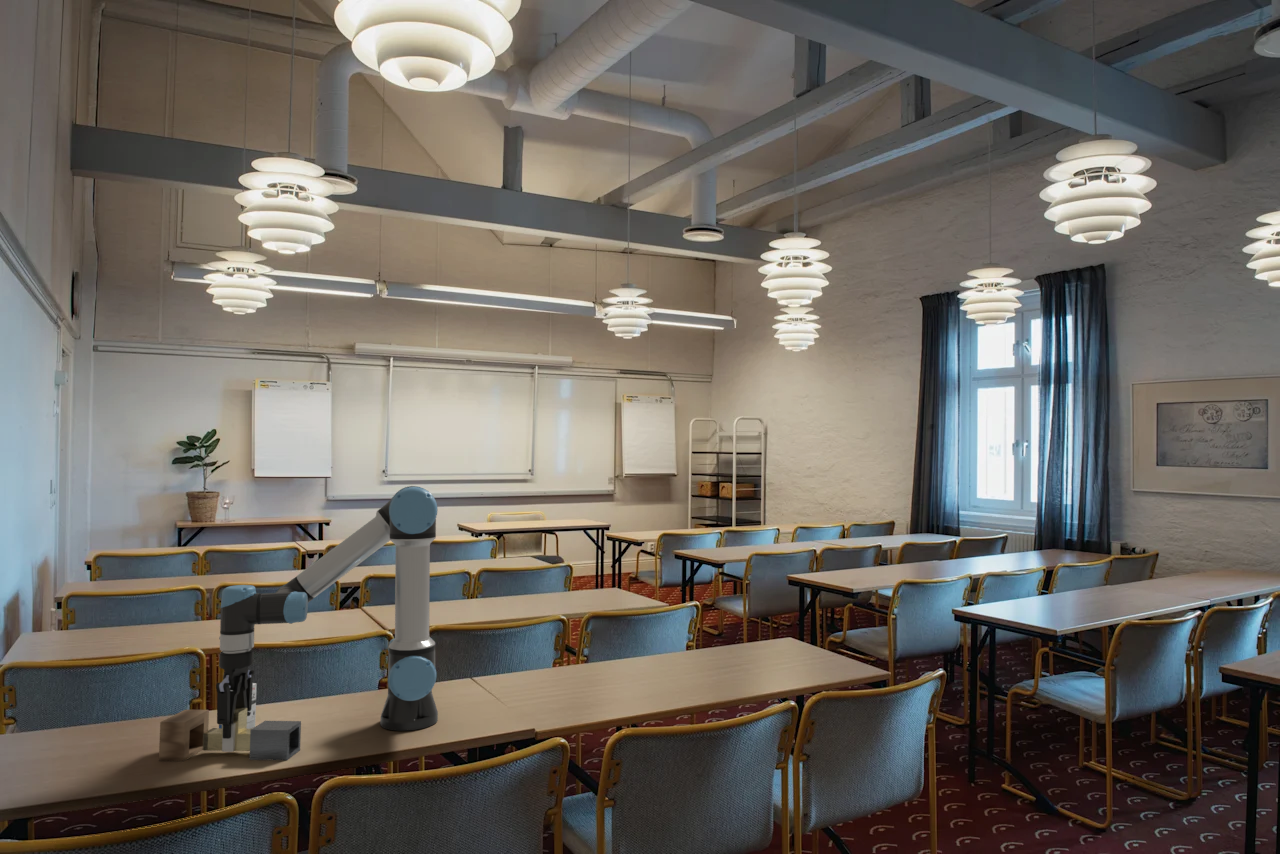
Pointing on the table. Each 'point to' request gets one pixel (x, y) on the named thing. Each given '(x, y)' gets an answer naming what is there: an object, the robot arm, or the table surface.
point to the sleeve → (275, 740)
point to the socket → (182, 735)
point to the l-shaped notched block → (242, 734)
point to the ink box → (253, 709)
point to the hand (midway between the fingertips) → (233, 747)
